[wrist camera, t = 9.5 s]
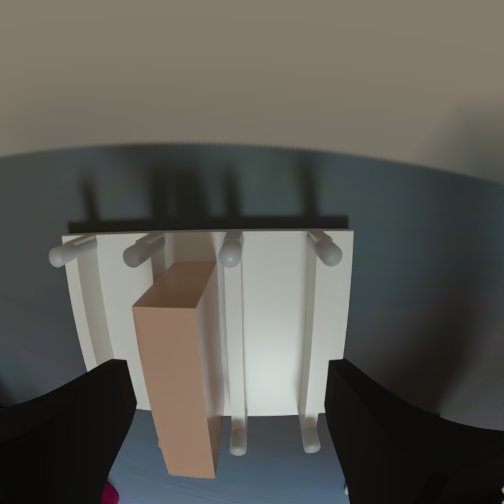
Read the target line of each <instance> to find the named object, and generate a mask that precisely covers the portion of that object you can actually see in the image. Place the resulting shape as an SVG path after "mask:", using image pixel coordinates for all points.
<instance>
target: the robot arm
mask: <svg viewBox="0 0 504 504" xmlns="http://www.w3.org/2000/svg"><path fill="white" fill-rule="evenodd" d="M136 406H137V400H136V396H135V392H134V388H133V385H132V381H131V377H130V372H129V368H128V364H127V360H123V359H110V360H108V361H106V362H104V363H102V364H100V365H98V366H97V367H95V368H93V369H91V370H90V371H88V372H86V373H85V374H83V375H81V376H79V377H78V378H76V379H74V380H72V381H71V382H69V383H67V384H65V385H63V386H61V387H59V388H57V389H55V390H53V391H51V392H49V393H47V394H45V395H42V396H40V397H37V398H35V399H32V400H29V401H27V402H24V403H20V404H16V405H13V406H9V407H6V408H1V409H0V504H100V503H101V499H102V495H103V492H104V488H105V485H106V481H107V478H108V475H109V472H110V470H111V467H112V465H113V463H114V461H115V458H116V456H117V454H118V452H119V450H120V448H121V446H122V443H123V441H124V439H125V437H126V435H127V433H128V431H129V428H130V426H131V424H132V420H133V417H134V414H135V410H136ZM324 408H325V414H326V419H327V424H328V429H329V432H330V435H331V438H332V441H333V444H334V447H335V450H336V453H337V456H338V459H339V462H340V465H341V468H342V470H343V473H344V477H345V481H346V486H345V489H344V493H345V494H348V495H349V501H350V504H502V503H501V502H503V501H504V493H503V492H502V488H503V487H504V431H500V430H491V429H483V428H477V427H472V426H468V425H463V424H459V423H456V422H453V421H449V420H446V419H444V418H441V417H438V416H435V415H433V414H430V413H428V412H425V411H423V410H421V409H419V408H417V407H415V406H413V405H411V404H409V403H407V402H406V401H404V400H402V399H400V398H399V397H397V396H396V395H394V394H392V393H391V392H389V391H388V390H386V389H385V388H383V387H382V386H381V385H379V384H378V383H376V382H375V381H374V380H372V379H371V378H370V377H368V376H367V375H366V374H365V373H363V372H362V371H361V370H360V369H358V368H357V367H356V366H355V365H353V364H352V363H351V362H349V361H348V360H347V359H336V360H329V363H328V373H327V382H326V391H325V400H324Z"/></svg>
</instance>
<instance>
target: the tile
mask: <svg viewBox="0 0 504 504" xmlns="http://www.w3.org/2000/svg"><path fill="white" fill-rule="evenodd" d="M132 313H133V320H134V326H135V332H136V338H137V344H138V350H139V355H140V360H141V366H142V371H143V376H144V380H145V385H146V390H147V394H148V399H149V403H150V407H151V411H152V415H153V419H154V423H155V427H156V431H157V435H158V438H159V442H160V446H161V449H162V453H163V456H164V459H165V463H166V466H167V469H168V472H169V475H177V476H186V477H197V478H211V479H216V471H217V463H218V455H219V447H220V439H221V431H222V423H223V415H224V408H225V393H224V379H223V363H222V347H221V329H220V310H219V289H218V264H217V262H174V263H173V264H172V265H171V266H170V267H169V268H168V269H167V270H166V271H165V272H164V273H163V274H162V275H161V276H160V277H159V278H158V279H157V280H156V281H155V283H154V284H153V285H152V286H151V287H150V288H149V289H148V290H147V291H146V292H145V293H144V294H143V295H142V296H141V297H140V298H139V299H138V300H137V301H136V302H135V303H134V305H133V306H132Z"/></svg>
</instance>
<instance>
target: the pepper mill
mask: <svg viewBox="0 0 504 504" xmlns="http://www.w3.org/2000/svg"><path fill="white" fill-rule="evenodd" d="M118 501H119V496H118V493H117V492H116V491H115V489H114V488H112V487H111V486H110V485H109V484H107V483H106V485H105V488H104V492H103V495H102V499H101V503H100V504H118Z"/></svg>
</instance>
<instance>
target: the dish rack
mask: <svg viewBox="0 0 504 504" xmlns="http://www.w3.org/2000/svg"><path fill="white" fill-rule="evenodd" d="M353 232H354V231H352V230H350V229H209V230H162V231H127V232H98V233H73V234H67V235H64V236H62V241H63V245H61V246H58V247H56V248H53V249H51V251H50V253H49V260H50V262H51V264H52V265H53V266H55V267H60V266H62V265H64V264H65V266H66V273H67V279H68V286H69V292H70V297H71V303H72V308H73V313H74V318H75V323H76V327H77V332H78V336H79V341H80V345H81V349H82V353H83V357H84V360H85V364H86V368H87V371H90V370H91V369H93V368H95V367H97V366H98V365H100V364H102V363H104V362H106V361H108V360H110V359H123V360H127V364H128V368H129V372H130V377H131V381H132V385H133V388H134V392H135V396H136V400H137V406H136V409H144V410H151V407H150V403H149V399H148V394H147V390H146V385H145V380H144V376H143V371H142V366H141V360H140V355H139V350H138V344H137V338H136V332H135V326H134V320H133V313H132V306H133V305H134V303H135V302H136V301H137V300H138V299H139V298H140V297H141V296H142V295H143V294H144V293H145V292H146V291H147V290H148V289H149V288H150V287H151V286H152V285H153V284H154V283H155V281H156V280H157V279H158V278H159V277H160V276H161V275H162V274H163V273H164V272H165V271H166V270H167V269H168V268H169V267H170V266H171V265H172V264H173V263H174V262H217V264H218V289H219V310H220V329H221V347H222V363H223V379H224V393H225V408H224V415H223V416H232V430H231V441H230V452H231V453H232V454H233V455H238V456H240V455H243V454H245V453H246V446H247V416H276V415H298V416H299V422H300V428H301V433H302V439H303V445H304V450H305V452H307V453H315V452H317V451H318V450H319V449H320V442H319V438H318V434H317V429H316V424H317V417H318V413H325V408H324V400H325V391H326V382H327V373H328V363H329V360H336V359H343V352H344V344H345V336H346V327H347V317H348V307H349V296H350V283H351V269H352V253H353ZM158 446H159V447H160V448H161V446H160V442H158Z"/></svg>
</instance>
